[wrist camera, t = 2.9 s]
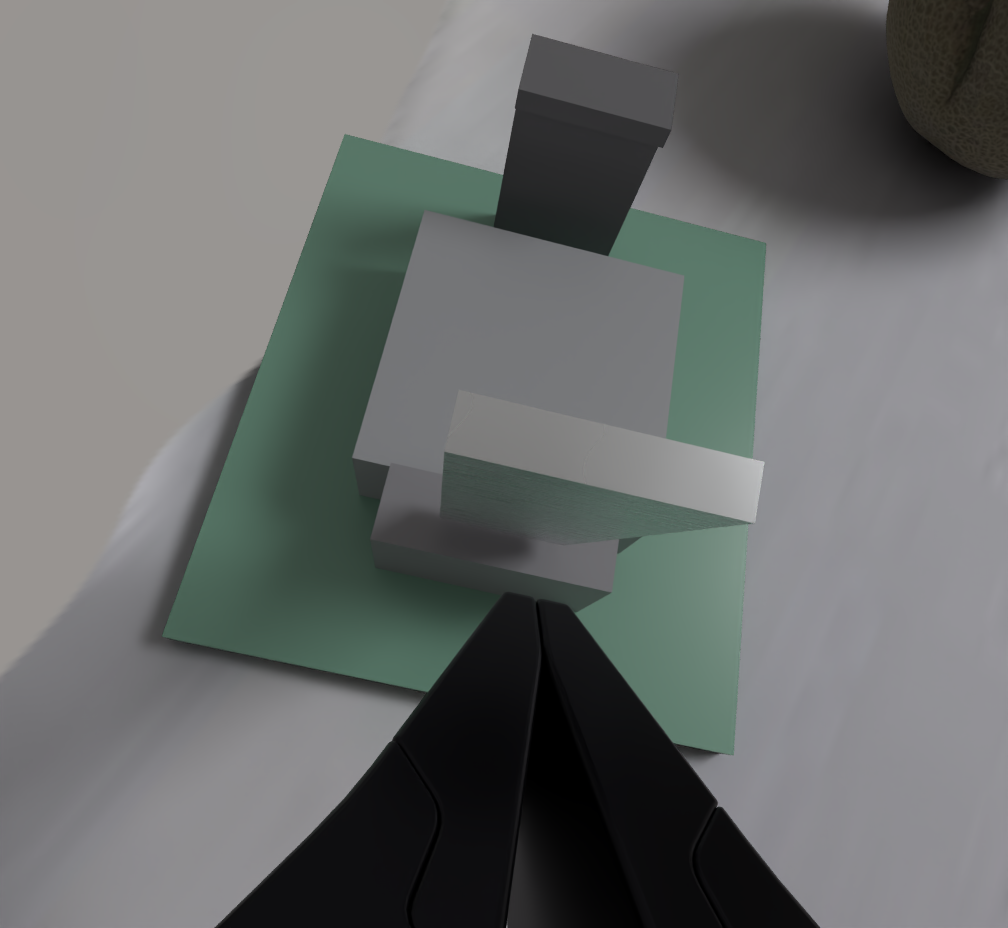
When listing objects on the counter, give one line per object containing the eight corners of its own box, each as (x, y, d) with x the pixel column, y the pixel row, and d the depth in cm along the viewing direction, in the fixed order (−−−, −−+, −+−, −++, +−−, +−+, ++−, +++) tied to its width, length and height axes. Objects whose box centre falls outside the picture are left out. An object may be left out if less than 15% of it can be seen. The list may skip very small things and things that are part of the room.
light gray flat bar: (562, 545, 16) (754, 523, 6) (439, 517, 16) (445, 450, 6) (567, 520, 16) (765, 461, 7) (445, 493, 16) (458, 389, 6)
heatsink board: (721, 753, 20) (903, 778, 13) (170, 639, 19) (28, 594, 12) (755, 256, 26) (889, 84, 19) (346, 151, 25) (324, -73, 18)
